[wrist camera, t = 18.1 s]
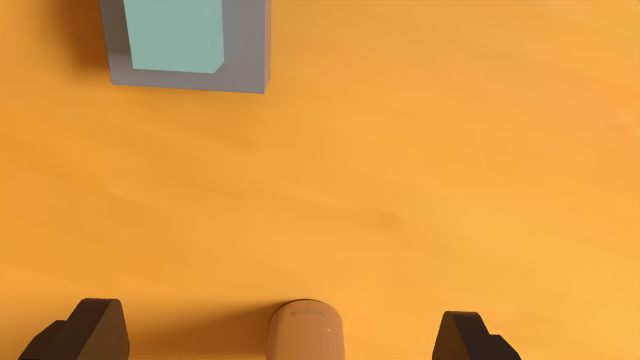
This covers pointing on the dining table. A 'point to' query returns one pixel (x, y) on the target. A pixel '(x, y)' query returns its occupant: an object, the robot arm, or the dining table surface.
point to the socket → (232, 76)
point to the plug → (175, 34)
